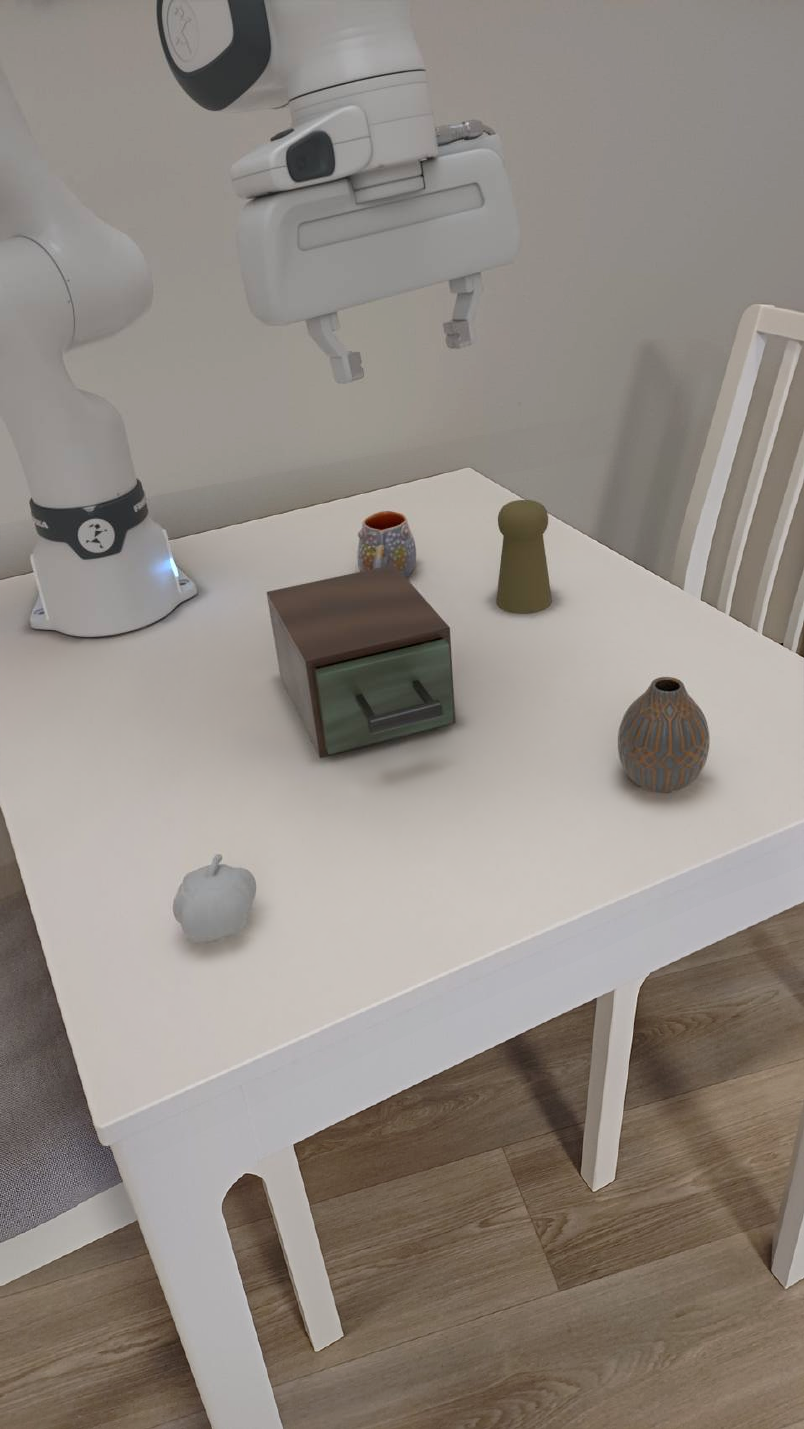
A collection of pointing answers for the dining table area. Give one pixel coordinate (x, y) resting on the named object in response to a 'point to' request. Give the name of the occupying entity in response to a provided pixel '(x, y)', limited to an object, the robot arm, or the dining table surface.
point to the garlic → (214, 901)
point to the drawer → (384, 695)
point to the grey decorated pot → (386, 543)
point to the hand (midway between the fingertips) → (407, 363)
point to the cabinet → (345, 631)
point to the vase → (663, 738)
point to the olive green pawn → (523, 558)
